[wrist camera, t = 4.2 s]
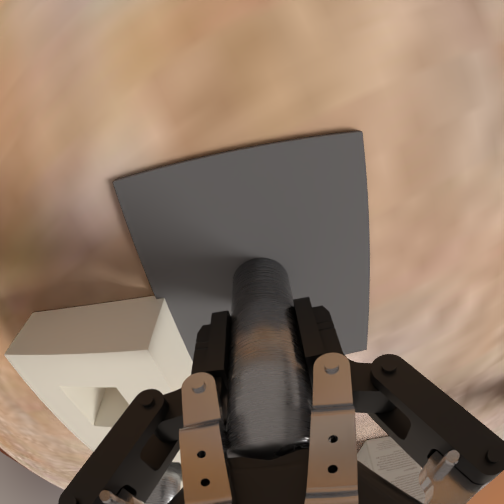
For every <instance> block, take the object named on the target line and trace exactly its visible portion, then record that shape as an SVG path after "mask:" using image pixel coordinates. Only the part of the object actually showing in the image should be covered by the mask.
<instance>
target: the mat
mask: <svg viewBox="0 0 504 504" xmlns="http://www.w3.org/2000/svg"><path fill="white" fill-rule="evenodd" d="M113 185H114V188H115V191H116V194H117V197H118V200H119V203H120V206H121V209H122V212H123V214H124V217H125V220H126V223H127V226H128V229H129V231H130V234H131V237H132V239H133V242H134V245H135V247H136V250H137V253H138V255H139V258H140V260H141V263H142V266H143V268H144V271H145V273H146V275H147V278H148V280H149V283H150V285H151V288H152V290H153V292H154V295H155V297H156V299H161V298H165V301H166V303H167V305H168V308H169V310H170V313H171V315H172V317H173V320H174V322H175V324H176V326H177V329H178V331H179V333H180V335H181V338H182V340H183V342H184V344H185V346H186V349H187V351H188V353H189V355H190V357H191V359H192V361H193V357H194V351H195V344H196V338H197V333H198V331H199V330H200V329H201V327H202V326H203V325H208V324H211V315H212V313H214V312H220V311H227V310H228V311H229V313H230V316H231V299H232V280H233V275H234V273H235V271H236V270H237V268H238V267H239V266H240V265H241V264H243V263H244V262H246V261H248V260H250V259H254V258H269V259H272V260H275V261H277V262H278V263H280V264H281V265H282V266H283V267H284V268H285V269H286V271H287V273H288V277H289V281H290V286H291V290H292V295H293V299H298V298H304V297H309V298H310V302H311V305H312V307H317V306H322V305H323V306H324V307H325V308H326V309H327V310H328V311H329V312H330V315H331V318H332V322H333V324H334V327H335V330H336V333H337V336H338V339H339V342H340V345H341V348H342V351H343V353H344V355H345V354H350V353H354V352H359V351H363V350H367V335H368V316H369V284H370V244H369V211H368V192H367V177H366V164H365V153H364V143H363V134H362V131H351V132H342V133H334V134H326V135H318V136H311V137H304V138H298V139H291V140H285V141H279V142H273V143H268V144H262V145H257V146H251V147H246V148H241V149H236V150H231V151H226V152H221V153H217V154H212V155H208V156H203V157H199V158H195V159H190V160H186V161H182V162H178V163H174V164H170V165H166V166H162V167H159V168H155V169H151V170H147V171H144V172H140V173H137V174H133V175H130V176H126V177H123V178H120V179H116V180H115V181H113Z"/></svg>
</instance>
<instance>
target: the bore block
mask: <svg viewBox="0 0 504 504" xmlns="http://www.w3.org/2000/svg"><path fill="white" fill-rule="evenodd" d="M4 355H5V356H6V358H7V359H8V360H9V362H10V363H11V364H12V366H13V367H14V368H15V370H16V371H17V372H18V373H19V375H20V376H21V377H22V378H23V380H24V381H25V382H26V383H27V385H28V386H29V387H30V388H31V389H32V391H33V392H34V393H35V394H36V395H37V396H38V397H39V399H40V400H41V401H42V402H43V403H44V404H45V405H46V406H47V407H48V409H49V410H50V411H51V412H52V413H53V414H54V415H55V416H56V417H57V418H58V419H59V420H60V421H61V422H62V423H63V424H64V425H65V426H66V427H67V428H68V429H69V430H70V431H71V432H72V433H73V434H74V435H75V436H76V437H77V438H78V439H79V440H80V441H82V442H83V443H84V444H85V445H86V446H87V447H88V448H89V449H90V450H91V451H93V452H94V451H95V449H96V448H97V447H98V445H99V444H100V443H101V442H102V440H103V439H104V438H105V436H106V435H107V434H108V432H109V431H110V430H111V428H112V427H113V426H114V424H115V423H116V422H117V421H118V419H119V418H120V417H121V415H122V414H123V413H124V411H125V410H126V409H127V407H128V406H129V405H130V404H131V402H132V401H133V400H134V398H135V397H136V396H137V395H138V394H139V393H140V392H142V391H144V390H147V389H156V390H159V391H160V392H161V393H162V394H163V395H164V394H167V393H170V392H173V391H176V390H178V389H180V388H182V384H183V382H184V381H185V379H186V378H187V377H189V376H190V375H191V370H192V364H193V361H192V359H191V357H190V355H189V353H188V351H187V349H186V346H185V344H184V342H183V340H182V338H181V335H180V333H179V331H178V329H177V326H176V324H175V322H174V320H173V317H172V315H171V313H170V310H169V308H168V305H167V303H166V301H165V298H161V299H156V297H155V296H149V297H142V298H135V299H128V300H122V301H115V302H108V303H101V304H94V305H86V306H79V307H72V308H64V309H57V310H49V311H41V312H33V313H32V315H31V316H30V317H29V319H28V320H27V322H26V323H25V324H24V326H23V327H22V329H21V330H20V332H19V333H18V334H17V336H16V337H15V339H14V340H13V342H12V343H11V345H10V346H9V348H8V349H7V351H6V353H5V354H4ZM172 462H179V463H180V464H181V457H180V450H179V451H178V453H177V454H176V456H175V458H174V459H173V461H172ZM182 488H183V480H182V477H181V487H180V489H182Z"/></svg>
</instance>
